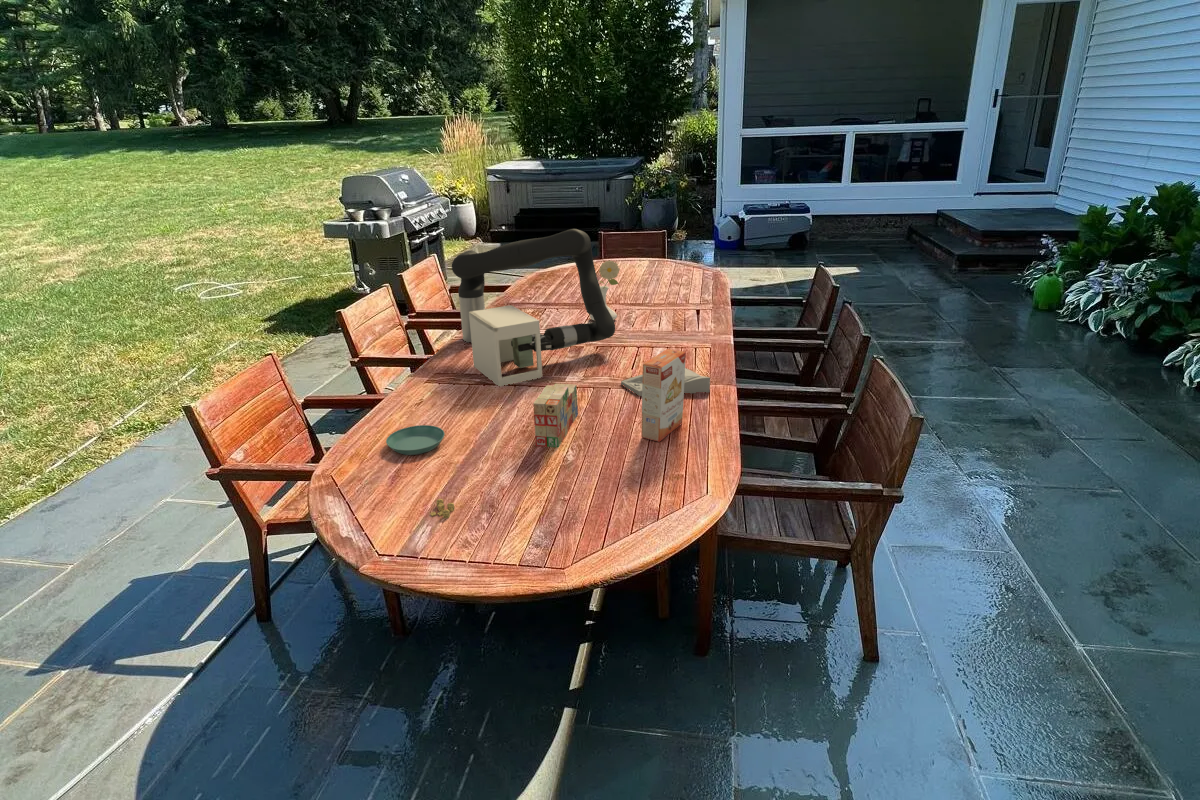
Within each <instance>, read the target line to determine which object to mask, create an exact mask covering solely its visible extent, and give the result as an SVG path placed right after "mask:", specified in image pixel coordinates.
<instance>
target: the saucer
mask: <svg viewBox="0 0 1200 800" xmlns="http://www.w3.org/2000/svg"><path fill="white" fill-rule="evenodd" d="M445 435H446V434H445V431H444V430H443V428H441V427H438V426H435V425H428V424H427V425H426V424H422V425H413V426H408V427H404V428H401V429H398V430H396V431H394V432H392V433H391V434H389V435H388V436H387V438H386V439H385V443H386V445H387V446H388V447H389V448H390V449H391V450H393V451H394V452H396V453H398V454H401V455H405V456H414V455H421V454H425V453H429V452H430V451H433V450H434V449H436V448H437V447H438V446H439V445H440V444H441V442H442V441H443V440H444V438H445Z"/></svg>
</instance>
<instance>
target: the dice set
mask: <svg viewBox="0 0 1200 800" xmlns="http://www.w3.org/2000/svg"><path fill="white" fill-rule="evenodd" d="M446 505H447V506H446V507H447V509H445V504H444V499H443V498H438V499H436V507H437V510H438V512H437V513H436V511H432V512H430V516H431V517H435V516H437V515H438V516H439V517H441V516H442V517H443V519H448V518H450V517H451V514H450V513H451V512H454V511H455V509H456V508H455V503H454V502H449V503H447V504H446Z"/></svg>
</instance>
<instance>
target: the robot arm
mask: <svg viewBox="0 0 1200 800" xmlns="http://www.w3.org/2000/svg"><path fill="white" fill-rule="evenodd" d="M558 257H559V258H560V257H572V259H573V260H574V263H575V266H576V269H577V272H578V278H579V287H580V293H581V294H580V295H581V297H582V302H583V304H584V308H585V311H586V313H587V314H588V315H589V316H590V315H592V316H593V318H594V320H595V321H594V320H593V321H592V322H587V323H584V322H583V323H575V324H570V325H568V324H567V325H561V326H555V327H551V328H550V327H549V328H547V329H545V331H544V333H543V334H542V333H540V342H541V352H544V351H545V352H546V351H557V350H561V349H566V348H571V347H573V346H577V345H582V344H586V343H593V342H598V341H603V340H606V339H609V338H611V337H613V336H614V334H615V332H616V324H615V321H614V320H615V319H614V320H613V318H612V316H611V314H610V312H609V311H608V309H607V307H606V306H605V302H604V299H603V296H602V292H601V289H600V286H601V285H600V284H599V283H600V282H599V281H598V277H597V275H598V274H597V273H596V268H595V263H594V257H593V251H592V242H591V238H590V236H589V235H588V233H586V232H585V231H583V230H581V229H577V228H570V229H567V230H564V231H561V232H559V233H555V234H552V235H548V236H544V237H538V238H537V237H535V238H528V239H521V240H518V241H512V242H510V243H506V244H503V245H500V246H498V247H494V248H492V249H490V250H487V251H483V252H477V251H474V250H467V251H464V252H462V253H460V254H458V255H456V256H455V258H454V259H453V261H452V263H451V270H452V272H453V275H455V276H456V277H457V278H459V279H460V284H459V287H458V290H457V292H458V301H459V302H458V303H459V312H460V322H461V331H462V340H464V341H463V342H465V341H466V342H465V343H469V342H471V344H472V341H471V331H470V321H469V312H471V311H477V310H484V309H486V308H485V295H484V289H485V285H486V284H485V274H487V273H493V272H501V271H509V270H515V269H520V268H521V269H522V268H525V267H530V266H533V265H537V264H539V263H541V262H543V261H546V260H548V259H551V258H558ZM511 346H512V347H513V344H512V341H511ZM529 349H530V350H531V351H532V350H533V353H534V352H535V353H536V342H535V334H533V335H532V342H530V343H526V344H521V345H518V351H519V352H521V351H526V350H529Z"/></svg>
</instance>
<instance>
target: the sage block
mask: <svg viewBox="0 0 1200 800" xmlns="http://www.w3.org/2000/svg"><path fill="white" fill-rule="evenodd" d="M530 342H532V335H528V336H522V337H517V338H512V344H513V357H514V360H513V365H515V366H516V367H518V368H519V369H522V368H528V367H532V366H533V367H534V364H535V363H534V350H532V351H531V350H530V349H529V350H526V351H521V352H519V351H518V345H521V344H526V343H530Z"/></svg>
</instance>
